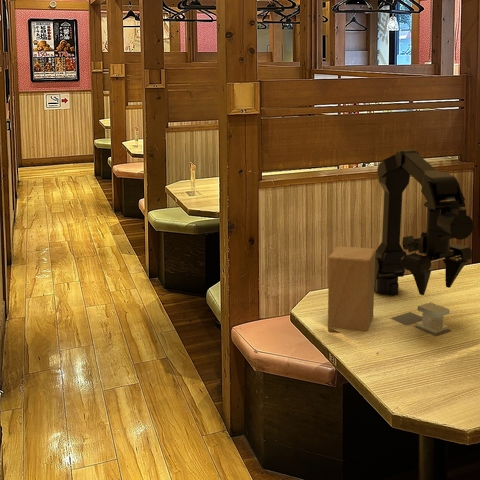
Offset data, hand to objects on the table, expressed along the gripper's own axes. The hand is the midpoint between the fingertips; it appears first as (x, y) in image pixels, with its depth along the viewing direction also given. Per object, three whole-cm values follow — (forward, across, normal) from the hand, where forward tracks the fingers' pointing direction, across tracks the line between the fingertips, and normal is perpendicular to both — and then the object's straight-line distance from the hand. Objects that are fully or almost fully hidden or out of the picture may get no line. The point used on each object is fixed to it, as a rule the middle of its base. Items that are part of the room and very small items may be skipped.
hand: (435, 291), depth 161 cm
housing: (+10, 0, 0) cm, 10 cm away
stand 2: (+11, 0, 0) cm, 11 cm away
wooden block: (+12, +13, -15) cm, 23 cm away
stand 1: (+11, 0, -8) cm, 14 cm away
